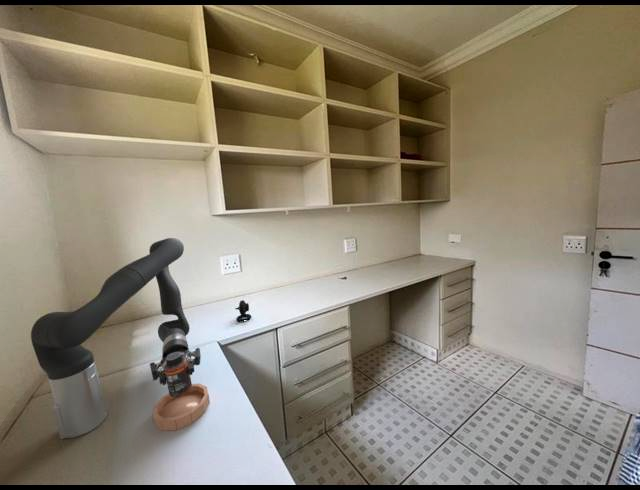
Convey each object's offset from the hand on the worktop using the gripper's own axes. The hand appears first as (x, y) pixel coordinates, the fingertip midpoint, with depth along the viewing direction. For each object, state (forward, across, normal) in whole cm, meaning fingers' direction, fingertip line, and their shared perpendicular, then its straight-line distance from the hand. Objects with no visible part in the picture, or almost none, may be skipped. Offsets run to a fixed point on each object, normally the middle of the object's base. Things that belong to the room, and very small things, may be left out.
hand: (177, 376), depth 72 cm
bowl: (-2, 0, +12) cm, 12 cm away
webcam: (-53, +31, +13) cm, 63 cm away
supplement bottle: (-2, 0, +6) cm, 7 cm away
